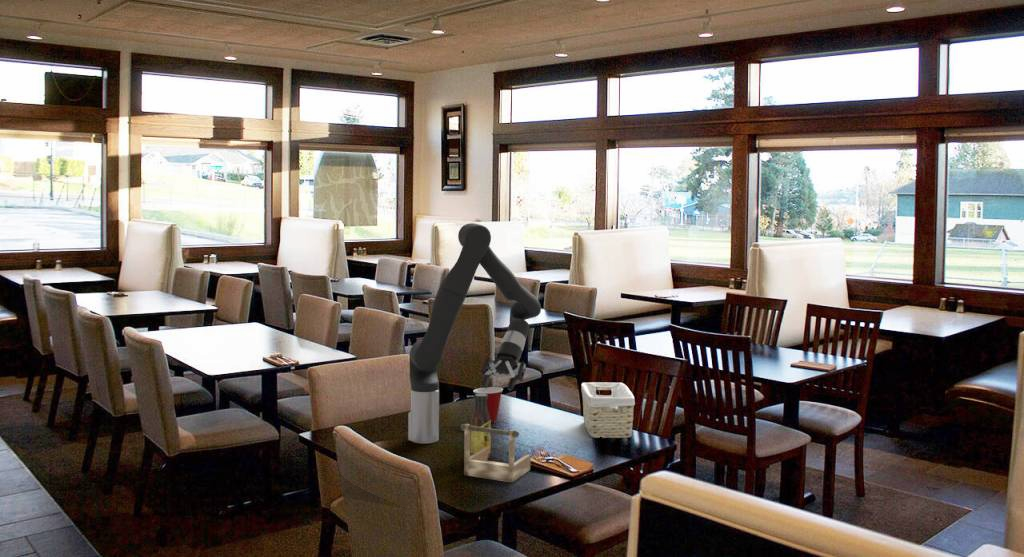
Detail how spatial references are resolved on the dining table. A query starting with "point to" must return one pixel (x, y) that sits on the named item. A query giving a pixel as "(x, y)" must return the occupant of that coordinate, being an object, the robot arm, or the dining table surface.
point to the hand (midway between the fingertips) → (496, 388)
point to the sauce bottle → (480, 425)
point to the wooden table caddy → (490, 469)
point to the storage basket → (608, 410)
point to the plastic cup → (491, 400)
